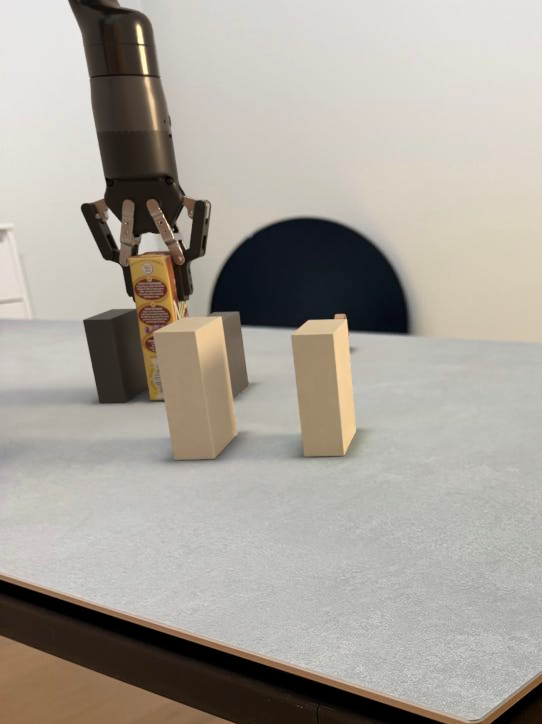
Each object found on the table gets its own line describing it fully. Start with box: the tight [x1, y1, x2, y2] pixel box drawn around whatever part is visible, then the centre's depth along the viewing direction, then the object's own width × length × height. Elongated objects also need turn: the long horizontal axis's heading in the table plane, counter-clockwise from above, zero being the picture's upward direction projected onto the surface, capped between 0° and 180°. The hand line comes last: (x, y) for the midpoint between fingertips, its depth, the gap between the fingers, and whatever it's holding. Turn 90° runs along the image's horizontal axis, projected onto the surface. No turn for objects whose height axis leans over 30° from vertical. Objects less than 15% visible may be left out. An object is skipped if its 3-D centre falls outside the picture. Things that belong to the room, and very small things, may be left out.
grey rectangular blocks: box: [82, 308, 249, 404], centre depth 109 cm, size 15×9×9 cm, turn 90°
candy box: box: [128, 249, 190, 401], centre depth 108 cm, size 9×4×15 cm, turn 6°
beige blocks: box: [153, 316, 357, 461], centre depth 86 cm, size 15×9×11 cm, turn 90°
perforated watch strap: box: [333, 313, 350, 337], centre depth 134 cm, size 3×5×5 cm, turn 0°
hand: (162, 300), depth 107 cm, fingers open, 4 cm apart
